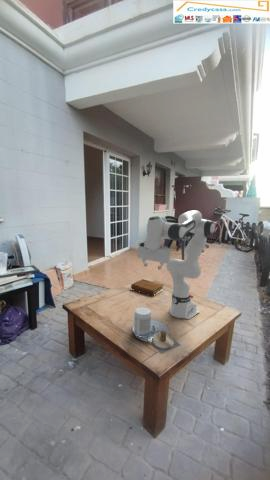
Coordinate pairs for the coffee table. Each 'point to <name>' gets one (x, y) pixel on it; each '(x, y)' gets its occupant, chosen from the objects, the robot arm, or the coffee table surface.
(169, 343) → the lid
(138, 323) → the supplement tub
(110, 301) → the coffee table surface
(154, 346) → the mat
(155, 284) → the diary
